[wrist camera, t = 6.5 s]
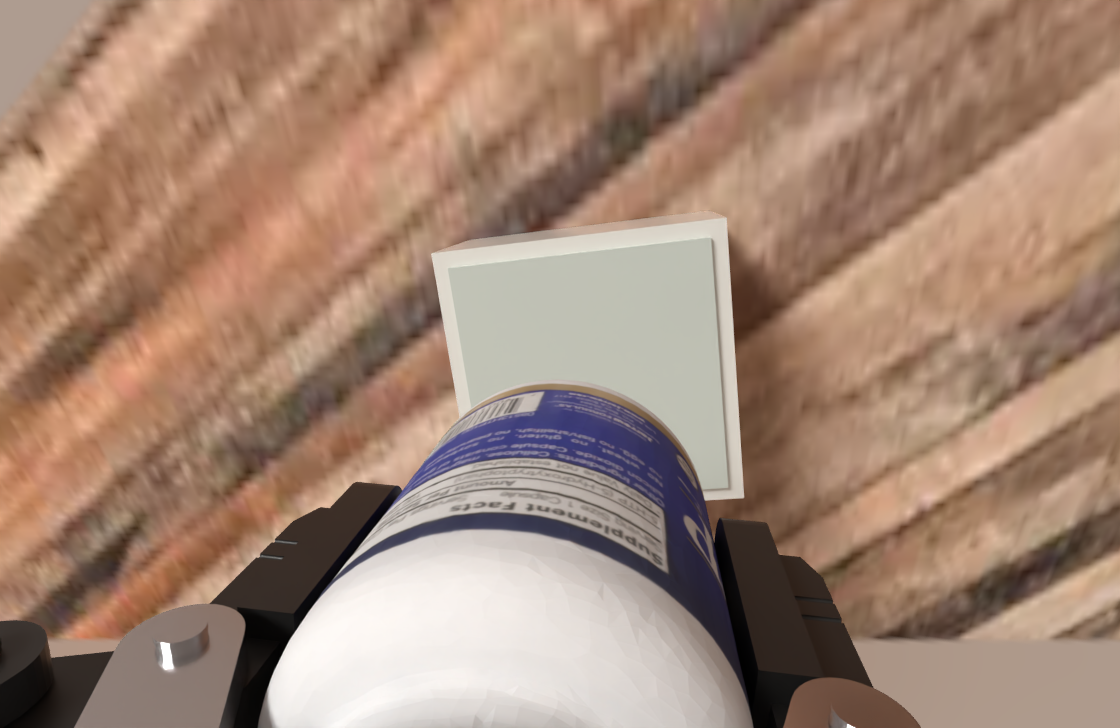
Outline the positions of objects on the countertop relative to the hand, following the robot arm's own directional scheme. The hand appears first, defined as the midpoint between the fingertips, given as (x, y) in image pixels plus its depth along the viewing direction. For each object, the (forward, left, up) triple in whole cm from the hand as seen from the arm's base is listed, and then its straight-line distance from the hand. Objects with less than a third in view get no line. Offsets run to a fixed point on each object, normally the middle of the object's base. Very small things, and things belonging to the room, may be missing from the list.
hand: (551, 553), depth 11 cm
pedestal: (0, 0, -16) cm, 16 cm away
